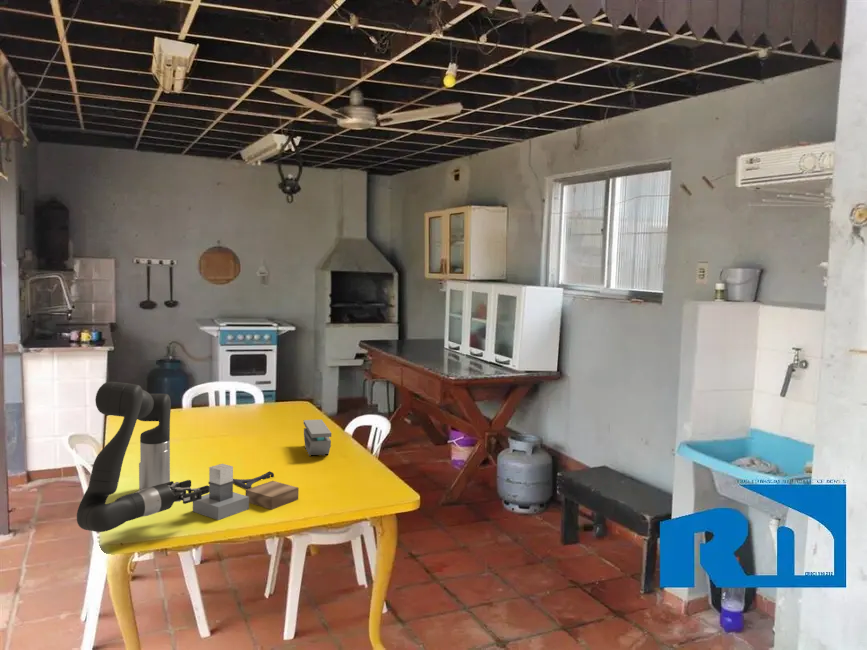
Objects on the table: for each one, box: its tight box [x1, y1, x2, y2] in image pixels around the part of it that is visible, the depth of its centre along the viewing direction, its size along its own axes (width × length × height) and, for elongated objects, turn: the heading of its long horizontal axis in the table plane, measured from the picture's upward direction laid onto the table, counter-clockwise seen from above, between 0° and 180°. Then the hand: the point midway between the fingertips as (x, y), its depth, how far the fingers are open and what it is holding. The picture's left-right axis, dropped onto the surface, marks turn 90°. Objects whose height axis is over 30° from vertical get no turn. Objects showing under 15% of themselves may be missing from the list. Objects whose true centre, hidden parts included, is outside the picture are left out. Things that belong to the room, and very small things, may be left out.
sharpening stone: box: [303, 419, 332, 457], centre depth 284 cm, size 25×8×11 cm, turn 18°
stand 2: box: [245, 480, 300, 510], centre depth 225 cm, size 12×12×4 cm
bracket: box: [233, 471, 275, 490], centre depth 245 cm, size 14×15×3 cm
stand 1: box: [192, 491, 250, 521], centre depth 214 cm, size 12×12×4 cm
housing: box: [208, 463, 234, 502], centre depth 214 cm, size 5×5×10 cm
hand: (199, 485), depth 207 cm, fingers open, 8 cm apart
